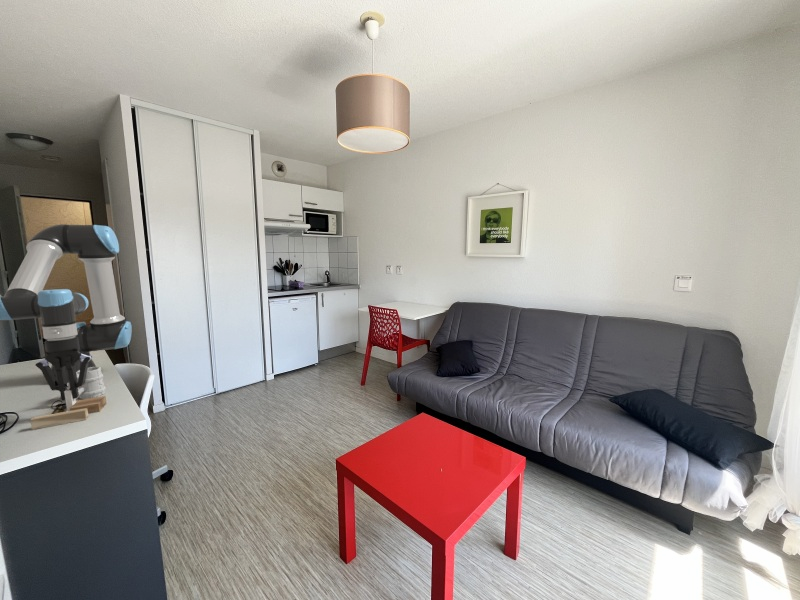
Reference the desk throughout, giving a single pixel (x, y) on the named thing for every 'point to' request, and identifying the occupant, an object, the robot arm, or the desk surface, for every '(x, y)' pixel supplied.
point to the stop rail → (59, 418)
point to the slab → (90, 404)
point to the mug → (91, 384)
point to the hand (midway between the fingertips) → (71, 408)
